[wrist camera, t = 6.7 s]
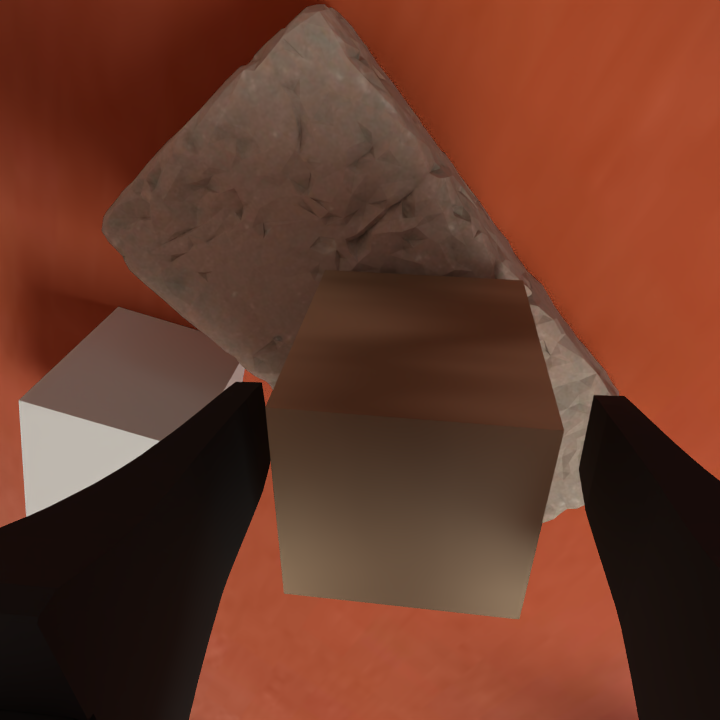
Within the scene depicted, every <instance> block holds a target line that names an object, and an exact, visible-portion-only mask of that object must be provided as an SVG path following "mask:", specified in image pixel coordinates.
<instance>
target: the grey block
mask: <svg viewBox="0 0 720 720" xmlns="http://www.w3.org/2000/svg"><path fill="white" fill-rule="evenodd" d="M244 370H245V368H244V367H242V366H241V364H240V363H239V362H238V361H237V359H236V358H235V357H234V356H232V355H230V354H229V353H227V352H225V351H224V350H223V349H222V348H221V347H220V346H219V345H217V344H216V343H215V342H214V341H213V340H212V339H210V338H209V337H208V336H206V335H205V334H204V333H203V332H201V331H198V330H195V329H192V328H188V327H185V326H182V325H178V324H175V323H171V322H168V321H165V320H161V319H158V318H155V317H151V316H148V315H145V314H141V313H138V312H134V311H131V310H128V309H124V308H121V307H117V308H116V309H115V310H114V311H113V312H112V313H111V314H110V315H109V316H108V317H107V318H106V319H105V320H103V321H102V322H101V323H100V324H99V325H98V326H97V327H96V328H95V329H94V330H93V331H92V332H91V333H90V334H89V335H88V336H86V337H85V338H84V339H83V340H82V341H81V342H80V343H79V344H78V345H77V346H76V347H75V348H74V349H73V350H72V351H71V352H69V353H68V354H67V355H66V356H65V357H64V358H63V359H62V360H61V361H60V362H59V363H58V364H57V365H56V366H55V367H54V368H52V369H51V370H50V371H49V372H48V373H47V374H46V375H45V376H44V377H43V378H42V379H41V380H40V381H39V382H38V383H37V384H35V385H34V386H33V387H32V388H31V389H30V390H29V391H28V392H27V393H26V394H25V395H24V396H23V397H22V398H21V399H19V412H20V427H21V443H22V458H23V473H24V488H25V504H26V517H27V516H29V515H32V514H34V513H36V512H38V511H40V510H43V509H45V508H47V507H49V506H51V505H53V504H55V503H57V502H59V501H61V500H63V499H65V498H67V497H69V496H71V495H73V494H75V493H77V492H79V491H81V490H83V489H85V488H87V487H89V486H91V485H92V484H94V483H96V482H98V481H100V480H101V479H103V478H105V477H106V476H108V475H110V474H111V473H113V472H115V471H116V470H118V469H120V468H121V467H123V466H125V465H126V464H128V463H129V462H131V461H132V460H134V459H135V458H137V457H138V456H140V455H141V454H143V453H144V452H146V451H147V450H148V449H150V448H151V447H153V446H154V445H155V444H157V443H158V442H159V441H161V440H162V439H164V438H165V437H166V436H168V435H169V434H171V433H172V432H173V431H175V430H176V429H177V428H179V427H180V426H181V425H182V424H184V423H185V422H186V421H187V420H189V419H190V418H191V417H192V416H194V415H195V414H196V413H197V412H199V411H200V410H201V409H202V408H204V407H205V406H206V405H207V404H208V403H210V402H211V401H212V400H213V399H214V398H216V397H217V396H218V395H219V394H221V393H222V392H223V391H224V390H226V389H227V388H228V387H229V386H231V385H232V384H233V383H235V382H242V381H243V376H244Z"/></svg>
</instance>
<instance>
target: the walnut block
mask: <svg viewBox="0 0 720 720" xmlns="http://www.w3.org/2000/svg"><path fill="white" fill-rule="evenodd" d="M265 409H266V419H267V429H268V439H269V449H270V459H271V469H272V479H273V489H274V499H275V509H276V518H277V528H278V538H279V548H280V558H281V568H282V578H283V588H284V593H285V594H294V595H303V596H312V597H321V598H330V599H339V600H349V601H358V602H367V603H376V604H385V605H394V606H403V607H412V608H421V609H430V610H439V611H448V612H457V613H466V614H475V615H484V616H494V617H503V618H512V619H519V618H520V614H521V610H522V605H523V601H524V597H525V593H526V589H527V585H528V580H529V576H530V572H531V568H532V564H533V559H534V555H535V551H536V547H537V543H538V538H539V534H540V530H541V526H542V522H543V517H544V513H545V509H546V505H547V501H548V496H549V492H550V488H551V484H552V480H553V476H554V471H555V467H556V463H557V459H558V455H559V450H560V446H561V442H562V438H563V434H564V428H563V424H562V421H561V417H560V413H559V410H558V406H557V402H556V399H555V395H554V392H553V388H552V384H551V381H550V377H549V373H548V370H547V366H546V362H545V359H544V355H543V351H542V348H541V344H540V341H539V337H538V333H537V330H536V326H535V322H534V319H533V315H532V311H531V308H530V304H529V300H528V297H527V293H526V290H525V286H524V282H523V280H506V279H488V278H469V277H450V276H431V275H412V274H393V273H374V272H355V271H336V270H325V272H324V274H323V276H322V279H321V281H320V283H319V285H318V288H317V290H316V292H315V295H314V297H313V299H312V302H311V304H310V306H309V308H308V311H307V313H306V315H305V318H304V320H303V322H302V324H301V327H300V329H299V331H298V334H297V336H296V338H295V341H294V343H293V345H292V347H291V350H290V352H289V354H288V357H287V359H286V361H285V363H284V366H283V368H282V370H281V373H280V375H279V377H278V379H277V382H276V384H275V386H274V389H273V391H272V393H271V396H270V398H269V400H268V402H267V405H266V407H265Z"/></svg>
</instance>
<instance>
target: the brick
mask: <svg viewBox="0 0 720 720" xmlns="http://www.w3.org/2000/svg"><path fill="white" fill-rule="evenodd" d="M102 232H103V234H104V235H105V237H106V238H107V240H108V241H109V243H110V244H111V245H112V246H113V247H114V248H115V249H116V250H117V251H118V252H119V253H120V254H121V255H122V256H123V258H124V261H125V263H126V265H127V266H128V268H129V270H130V271H131V272H132V273H133V274H134V275H136V276H137V277H138V278H139V279H140V280H141V281H142V282H143V283H144V284H145V285H147V286H148V287H149V288H150V289H151V290H153V291H154V292H155V293H156V294H157V295H159V296H160V297H161V298H162V299H163V300H164V301H165V302H167V303H168V304H169V305H170V306H171V307H172V308H173V309H174V310H175V311H177V312H178V313H179V314H180V315H181V316H182V317H183V318H185V319H186V320H187V321H189V322H190V323H191V324H192V325H194V326H195V327H196V328H197V329H199V330H200V331H201V332H203V333H204V334H205V335H206V336H208V337H209V338H210V339H212V340H213V341H214V342H215V343H216V344H217V345H219V346H220V347H221V348H222V349H223V350H224V351H225V352H227V353H229V354H230V355H232V356H234V357H235V358H236V359H237V361H238V362H239V363H240V364H241V366H242V367H244V368H245V369H246V370H248V371H249V372H250V373H252V374H253V375H254V376H256V377H258V378H260V379H262V380H264V381H266V382H268V383H269V385H270V386H271V387H272V389H274V386H275V384H276V382H277V379H278V377H279V375H280V373H281V370H282V368H283V366H284V363H285V361H286V359H287V357H288V354H289V352H290V350H291V347H292V345H293V343H294V341H295V338H296V336H297V334H298V331H299V329H300V327H301V324H302V322H303V320H304V318H305V315H306V313H307V311H308V308H309V306H310V304H311V302H312V299H313V297H314V295H315V292H316V290H317V288H318V285H319V283H320V281H321V279H322V276H323V274H324V272H325V270H336V271H355V272H374V273H393V274H412V275H431V276H450V277H469V278H488V279H506V280H523V282H524V286H525V290H526V293H527V297H528V300H529V304H530V308H531V311H532V315H533V319H534V322H535V326H536V330H537V333H538V337H539V341H540V344H541V348H542V351H543V355H544V359H545V362H546V366H547V370H548V373H549V377H550V381H551V384H552V388H553V392H554V395H555V399H556V402H557V406H558V410H559V413H560V417H561V421H562V424H563V428H564V434H563V438H562V442H561V446H560V450H559V455H558V459H557V463H556V467H555V471H554V476H553V480H552V484H551V488H550V492H549V496H548V501H547V505H546V509H545V513H544V517H543V522H542V523H544V522H547V521H549V520H552V519H554V518H555V517H557V516H558V515H559V514H560V513H562V512H563V511H564V510H566V509H577V508H579V507H581V506H583V505H585V504H584V499H583V493H582V487H581V481H580V475H579V464H580V460H581V455H582V450H583V445H584V440H585V435H586V430H587V425H588V420H589V415H590V411H591V406H592V401H593V396H594V395H608V396H619V391H618V390H617V389H616V387H615V386H614V385H613V384H612V382H611V380H610V378H609V376H608V374H607V372H606V371H605V370H604V369H603V367H602V366H601V365H600V364H599V363H598V362H597V361H596V359H595V358H594V357H593V356H592V354H591V353H590V352H589V351H588V349H587V348H586V347H585V346H584V344H583V343H582V342H581V341H580V340H579V339H578V338H577V337H576V335H575V334H574V332H573V331H572V329H571V328H570V327H569V325H568V324H567V323H566V322H565V320H564V319H563V318H562V316H561V315H560V313H559V312H558V310H557V309H556V308H555V306H554V305H553V303H552V301H551V299H550V297H549V296H548V294H547V292H546V291H545V289H544V287H543V285H542V284H541V283H540V282H539V281H537V280H536V279H535V278H534V277H533V276H532V275H531V274H530V273H529V272H527V270H526V269H525V267H524V266H523V264H522V263H521V262H520V260H519V259H518V258H517V256H516V255H515V254H514V252H513V250H512V248H511V246H510V244H509V242H508V240H507V239H506V238H505V236H504V235H503V234H502V233H501V232H500V230H499V229H498V228H497V227H496V226H495V224H494V223H493V221H492V220H491V218H490V217H489V215H488V214H487V212H486V211H485V209H484V208H483V206H482V205H481V203H480V202H479V200H478V199H477V197H476V196H475V195H474V194H473V193H472V191H471V190H470V189H469V188H468V186H467V184H466V183H465V182H464V180H463V179H462V178H461V176H460V175H459V174H458V172H457V170H456V168H455V167H454V165H453V164H452V163H451V161H450V160H449V159H448V157H447V156H446V154H445V153H444V152H442V151H441V150H440V148H439V147H438V146H437V144H436V143H435V142H434V140H433V139H432V137H431V136H430V135H429V133H428V131H427V130H426V129H425V128H424V127H423V126H422V124H421V122H420V120H419V118H418V117H417V116H416V114H415V113H414V112H413V111H412V109H411V108H410V107H409V105H408V103H407V102H406V101H405V99H404V98H403V96H402V95H401V94H400V92H399V91H398V89H397V88H396V87H395V85H394V84H393V83H392V81H391V80H390V79H389V78H388V76H387V75H386V74H385V72H384V71H383V70H382V69H381V67H380V66H379V65H378V64H377V62H376V61H375V59H374V57H373V56H372V54H371V53H370V51H369V50H368V48H367V46H366V45H365V44H364V43H363V42H362V40H361V39H360V37H359V36H358V34H357V33H356V32H355V30H354V29H353V27H352V26H351V25H350V24H349V23H348V22H347V21H346V20H345V19H344V18H343V16H342V15H341V14H340V13H339V12H337V11H336V10H334V9H333V8H331V7H330V8H328V7H327V6H326V5H325V4H317V5H313V6H308V7H306V8H305V9H304V10H303V11H302V12H301V13H299V14H298V15H297V16H296V17H295V18H294V19H293V20H292V21H291V22H290V23H289V24H288V25H287V27H286V28H283V29H281V30H280V31H279V32H278V33H277V34H276V35H274V36H273V37H272V38H271V39H270V40H269V41H268V42H267V43H266V44H265V45H264V46H263V47H262V48H261V49H260V50H259V51H258V52H257V53H256V54H255V55H254V58H253V59H252V60H251V61H250V62H249V63H248V64H247V65H245V66H240V67H239V68H238V69H237V70H236V71H235V72H234V73H233V74H232V75H231V76H230V77H229V78H228V79H227V80H226V81H225V82H224V83H223V84H222V86H221V87H220V88H219V89H218V90H217V91H216V92H215V93H214V94H213V96H212V97H211V98H210V99H209V100H208V101H207V102H206V103H205V104H204V106H203V107H202V108H201V109H200V110H199V111H198V112H197V113H196V114H195V115H194V116H193V117H192V118H191V119H190V120H189V121H188V122H187V123H186V124H185V125H184V126H183V127H182V128H181V129H180V130H179V131H178V132H177V133H176V134H175V135H174V136H173V137H172V138H171V139H170V140H169V141H167V142H166V144H165V145H164V146H163V147H162V148H161V149H160V150H159V151H158V152H157V153H156V154H155V156H154V157H153V158H152V159H151V160H150V161H149V162H148V163H147V164H146V166H145V167H144V168H143V170H142V171H141V172H140V173H139V175H138V176H137V177H136V178H135V180H134V181H133V182H132V183H131V184H130V185H129V186H127V187H126V188H125V189H124V190H123V191H122V192H121V194H120V196H119V197H118V198H117V199H116V201H115V202H114V203H113V204H112V205H111V207H110V208H109V209H108V210H107V212H106V214H105V215H104V218H103V225H102Z"/></svg>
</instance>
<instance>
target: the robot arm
mask: <svg viewBox="0 0 720 720" xmlns="http://www.w3.org/2000/svg"><path fill="white" fill-rule="evenodd" d="M270 461H271V459H270V449H269V439H268V429H267V419H266V409H265V401H264V394H263V388H262V383H257V382H235V383H233V384H232V385H231V386H229V387H228V388H227V389H226V390H224V391H223V392H222V393H221V394H219V395H218V396H217V397H216V398H214V399H213V400H212V401H211V402H210V403H208V404H207V405H206V406H205V407H204V408H202V409H201V410H200V411H199V412H197V413H196V414H195V415H194V416H192V417H191V418H190V419H189V420H187V421H186V422H185V423H184V424H182V425H181V426H180V427H179V428H177V429H176V430H175V431H173V432H172V433H171V434H169V435H168V436H166V437H165V438H164V439H162V440H161V441H159V442H158V443H157V444H155V445H154V446H153V447H151V448H150V449H148V450H147V451H146V452H144V453H143V454H141V455H140V456H138V457H137V458H135V459H134V460H132V461H131V462H129V463H128V464H126V465H125V466H123V467H121V468H120V469H118V470H116V471H115V472H113V473H111V474H110V475H108V476H106V477H105V478H103V479H101V480H100V481H98V482H96V483H94V484H92V485H91V486H89V487H87V488H85V489H83V490H81V491H79V492H77V493H75V494H73V495H71V496H69V497H67V498H65V499H63V500H61V501H59V502H57V503H55V504H53V505H51V506H49V507H47V508H45V509H43V510H40V511H38V512H36V513H34V514H32V515H29V516H27V517H25V518H22V519H20V520H18V521H15V522H13V523H10V524H8V525H5V526H3V527H1V528H0V720H189V716H190V712H191V708H192V704H193V700H194V696H195V692H196V687H197V683H198V679H199V675H200V672H201V668H202V664H203V660H204V657H205V653H206V649H207V645H208V642H209V638H210V634H211V631H212V627H213V624H214V620H215V617H216V613H217V610H218V607H219V603H220V600H221V596H222V593H223V590H224V587H225V585H226V582H227V579H228V576H229V573H230V571H231V569H232V566H233V564H234V561H235V559H236V556H237V554H238V551H239V549H240V547H241V544H242V542H243V539H244V537H245V534H246V532H247V529H248V527H249V525H250V522H251V520H252V517H253V515H254V512H255V510H256V507H257V505H258V502H259V500H260V497H261V494H262V492H263V488H264V485H265V481H266V477H267V473H268V469H269V465H270ZM579 475H580V481H581V487H582V493H583V499H584V504H585V510H586V514H587V517H588V520H589V524H590V527H591V530H592V533H593V537H594V540H595V543H596V546H597V549H598V553H599V556H600V559H601V562H602V565H603V568H604V571H605V575H606V578H607V581H608V584H609V587H610V590H611V594H612V597H613V600H614V603H615V606H616V610H617V614H618V617H619V621H620V625H621V629H622V634H623V639H624V644H625V649H626V654H627V659H628V664H629V668H630V673H631V679H632V684H633V690H634V695H635V701H636V706H637V712H638V717H639V720H720V481H719V480H718V479H716V478H715V477H714V476H713V475H711V474H710V473H709V472H708V471H706V470H705V469H704V468H703V467H702V466H701V465H699V464H698V463H697V462H696V461H695V460H693V459H692V458H691V457H690V456H689V455H688V454H687V453H685V452H684V451H683V450H682V449H681V448H680V447H679V446H678V445H676V444H675V443H674V442H673V441H672V440H671V439H670V438H669V437H668V436H667V435H665V434H664V433H663V432H662V431H661V430H660V429H659V428H658V427H657V426H656V425H655V424H654V423H653V422H652V421H651V420H649V419H648V418H647V417H646V416H645V415H644V414H643V413H642V412H641V411H640V410H639V409H638V408H637V407H636V406H635V405H634V404H632V403H631V402H630V401H629V400H628V399H627V398H626V397H625V396H608V395H594V396H593V401H592V406H591V411H590V415H589V420H588V425H587V430H586V435H585V440H584V445H583V450H582V455H581V460H580V464H579Z"/></svg>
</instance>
